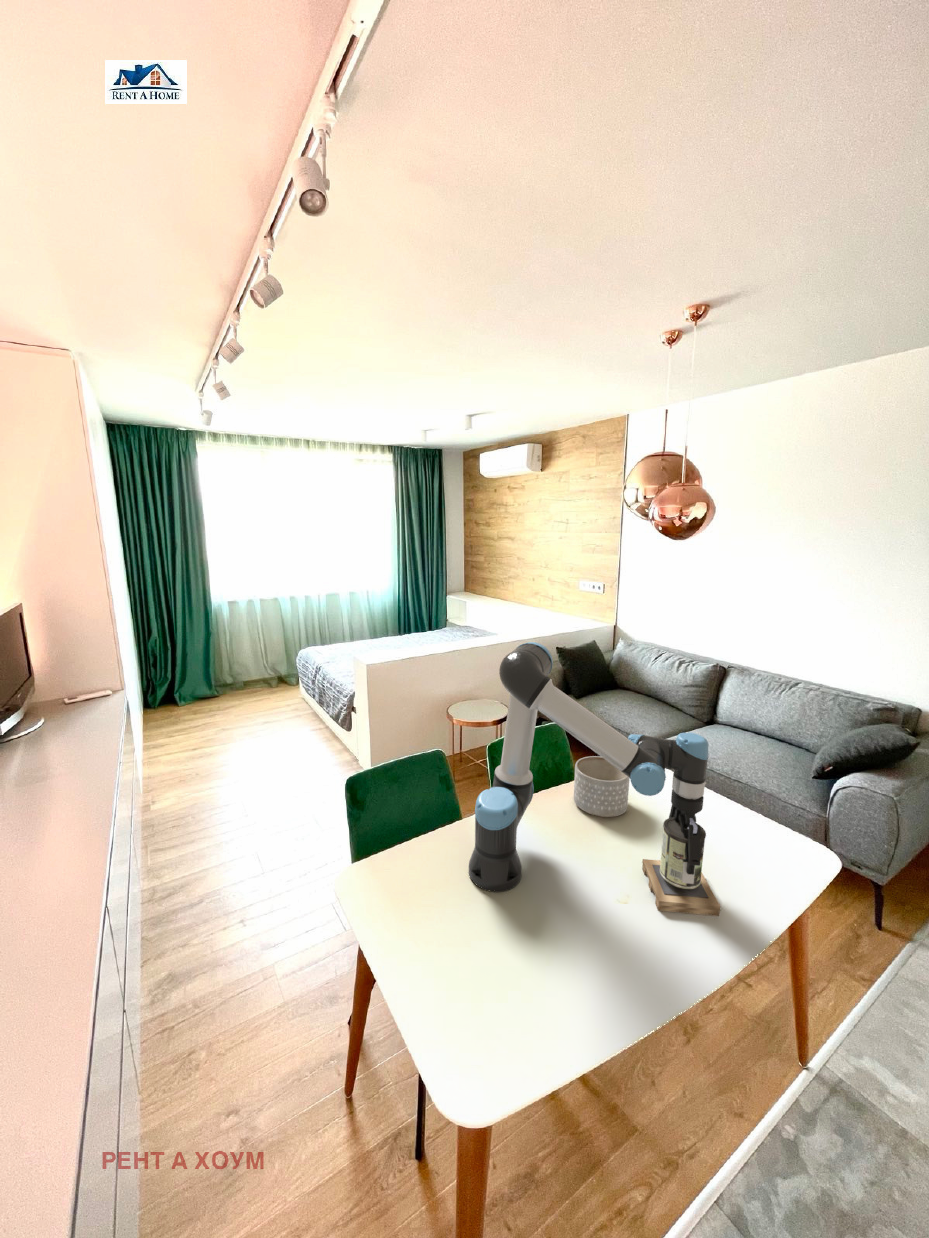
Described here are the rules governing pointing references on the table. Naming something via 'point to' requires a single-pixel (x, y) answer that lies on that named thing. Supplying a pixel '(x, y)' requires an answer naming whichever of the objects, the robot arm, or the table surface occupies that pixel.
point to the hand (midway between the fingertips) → (680, 867)
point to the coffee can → (678, 855)
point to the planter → (600, 787)
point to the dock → (679, 893)
